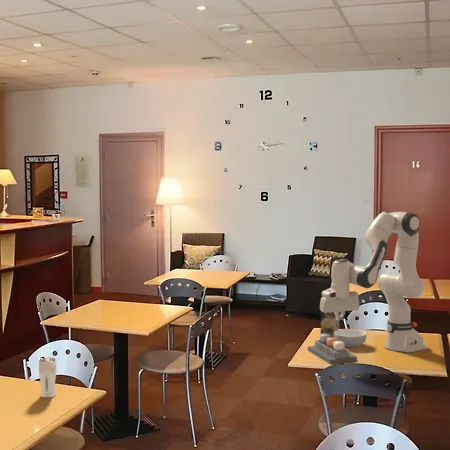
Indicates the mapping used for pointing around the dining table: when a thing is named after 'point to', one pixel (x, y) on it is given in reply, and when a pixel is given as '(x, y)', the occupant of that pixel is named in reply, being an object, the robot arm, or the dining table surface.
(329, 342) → the key terracotta
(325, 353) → the grey slotted rack
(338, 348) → the key ivory
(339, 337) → the cereal bowl
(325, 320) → the coffee box
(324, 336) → the key slate
